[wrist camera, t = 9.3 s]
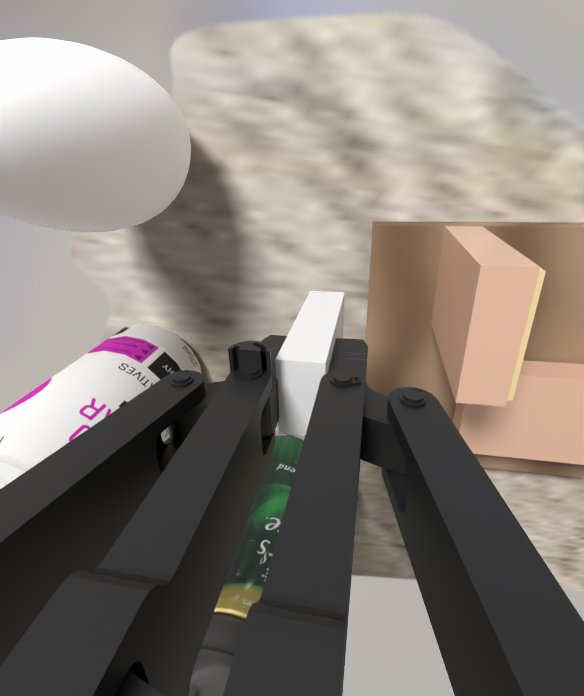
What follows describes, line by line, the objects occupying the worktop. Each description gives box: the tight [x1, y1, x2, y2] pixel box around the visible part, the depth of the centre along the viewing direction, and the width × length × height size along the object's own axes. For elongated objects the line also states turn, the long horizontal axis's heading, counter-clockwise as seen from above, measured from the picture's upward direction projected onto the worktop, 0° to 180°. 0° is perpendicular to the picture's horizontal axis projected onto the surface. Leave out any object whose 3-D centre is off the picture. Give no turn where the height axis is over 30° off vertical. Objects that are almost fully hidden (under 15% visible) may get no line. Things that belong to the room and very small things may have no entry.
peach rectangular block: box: [453, 360, 584, 465], centre depth 25 cm, size 2×6×9 cm
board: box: [366, 222, 584, 478], centre depth 26 cm, size 16×17×2 cm
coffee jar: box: [189, 435, 343, 696], centre depth 27 cm, size 10×8×19 cm
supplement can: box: [0, 323, 202, 489], centre depth 26 cm, size 8×8×15 cm
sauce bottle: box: [0, 38, 191, 232], centre depth 17 cm, size 8×8×18 cm
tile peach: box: [431, 226, 546, 407], centre depth 20 cm, size 2×6×9 cm, turn 1°
